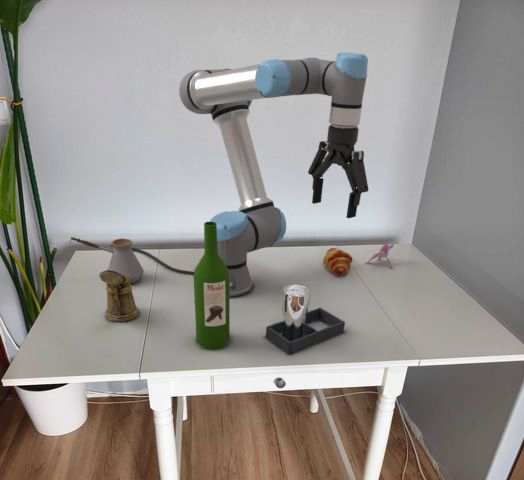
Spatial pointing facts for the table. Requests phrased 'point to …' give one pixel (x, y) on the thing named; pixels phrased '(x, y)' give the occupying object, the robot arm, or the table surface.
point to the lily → (383, 252)
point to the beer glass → (294, 311)
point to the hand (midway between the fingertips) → (333, 209)
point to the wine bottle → (211, 294)
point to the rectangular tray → (306, 331)
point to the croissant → (337, 261)
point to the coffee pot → (121, 258)
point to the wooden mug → (119, 297)
